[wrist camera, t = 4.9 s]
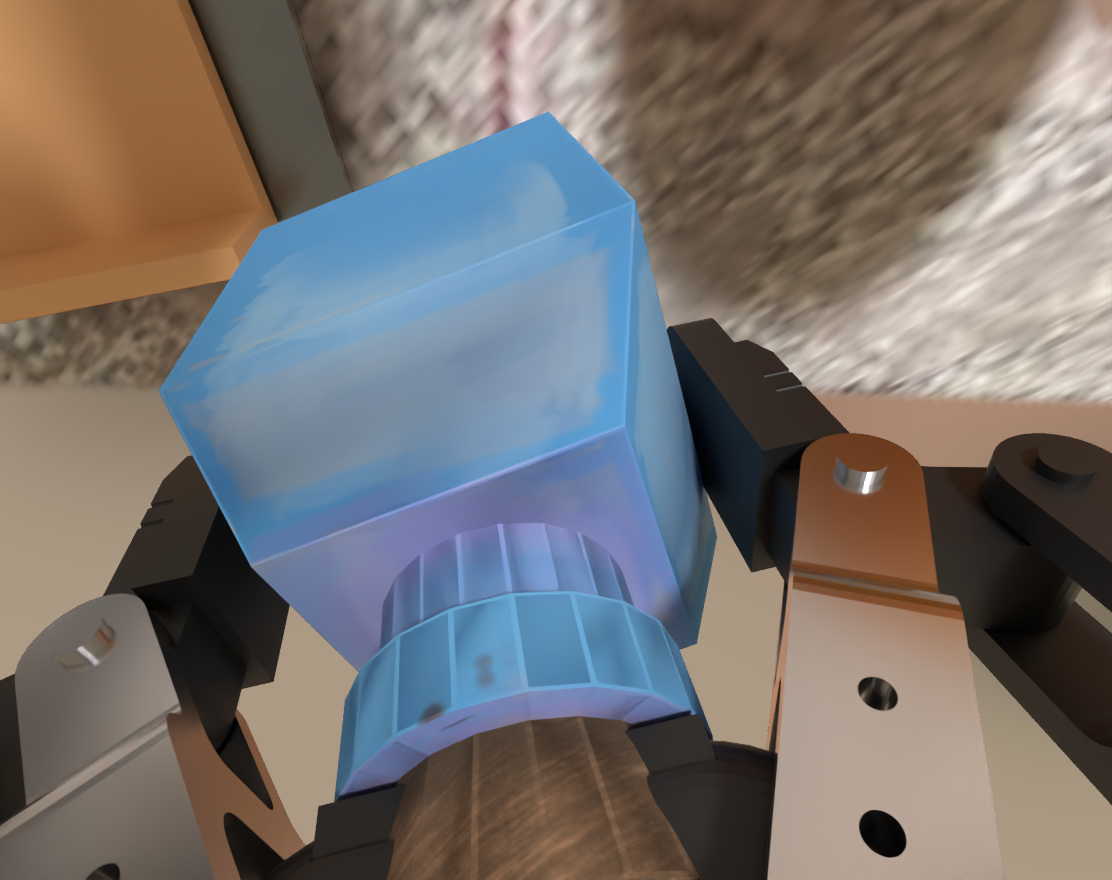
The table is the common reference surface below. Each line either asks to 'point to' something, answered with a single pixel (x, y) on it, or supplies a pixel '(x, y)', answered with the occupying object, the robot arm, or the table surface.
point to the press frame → (275, 100)
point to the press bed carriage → (116, 157)
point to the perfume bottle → (472, 497)
